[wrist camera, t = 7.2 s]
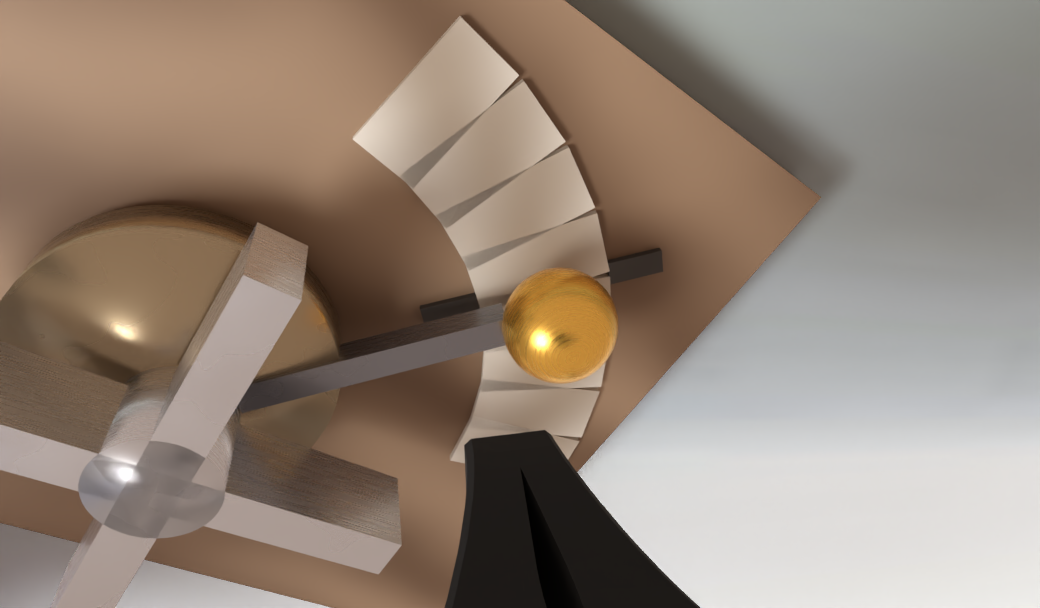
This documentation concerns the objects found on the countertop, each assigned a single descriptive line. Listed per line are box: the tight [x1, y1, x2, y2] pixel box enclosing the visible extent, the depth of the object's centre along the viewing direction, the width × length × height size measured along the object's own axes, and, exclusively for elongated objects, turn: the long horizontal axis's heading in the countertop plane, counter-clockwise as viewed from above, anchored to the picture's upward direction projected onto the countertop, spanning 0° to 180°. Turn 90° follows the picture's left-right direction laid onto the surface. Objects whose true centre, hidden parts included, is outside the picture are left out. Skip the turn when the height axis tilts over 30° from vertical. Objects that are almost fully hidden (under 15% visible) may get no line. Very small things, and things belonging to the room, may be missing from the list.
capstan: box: [0, 205, 618, 608], centre depth 18 cm, size 15×15×4 cm
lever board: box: [0, 0, 821, 608], centre depth 21 cm, size 21×21×2 cm
